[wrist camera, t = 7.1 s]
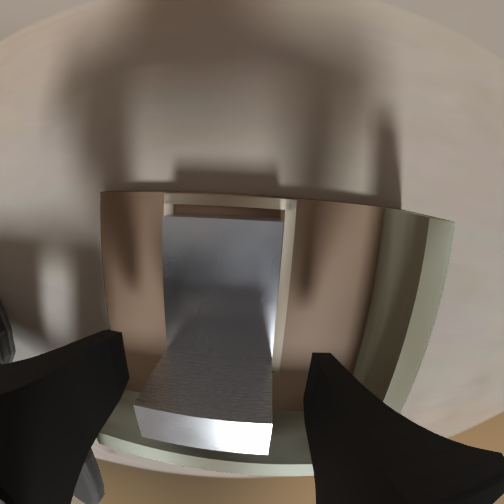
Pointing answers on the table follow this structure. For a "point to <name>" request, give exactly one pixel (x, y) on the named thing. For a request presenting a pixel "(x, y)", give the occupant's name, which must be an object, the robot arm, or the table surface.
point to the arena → (283, 308)
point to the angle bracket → (215, 334)
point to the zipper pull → (90, 478)
